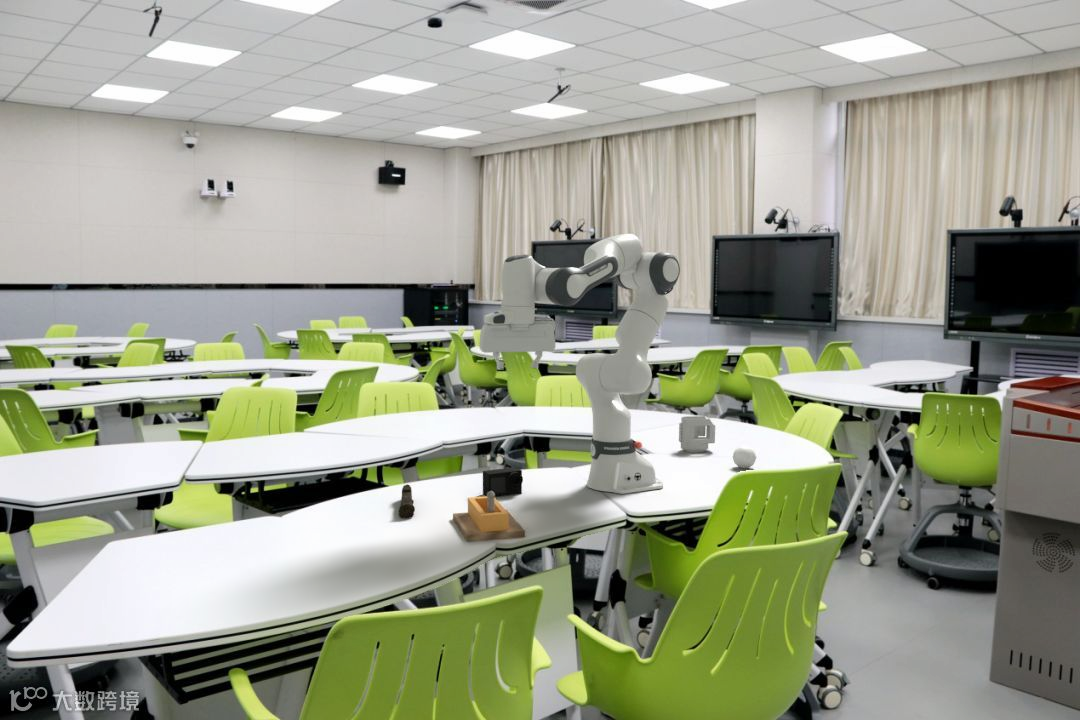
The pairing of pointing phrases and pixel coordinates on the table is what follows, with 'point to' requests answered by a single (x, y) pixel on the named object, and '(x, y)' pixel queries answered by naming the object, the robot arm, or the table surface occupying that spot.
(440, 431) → the table surface
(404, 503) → the brown wooden log
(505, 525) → the small orange storage bin
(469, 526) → the board
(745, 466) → the grey rounded knob
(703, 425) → the cable organizer
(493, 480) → the digital camera
